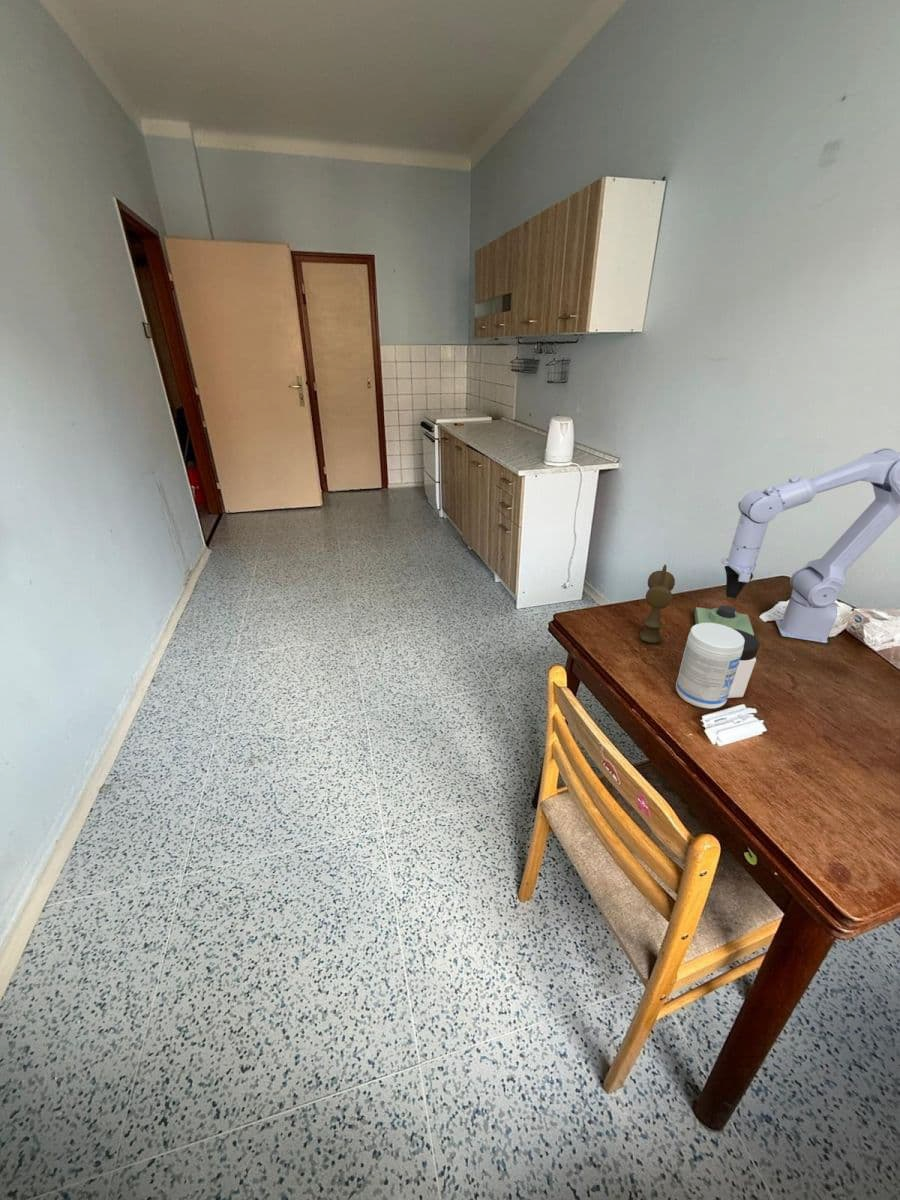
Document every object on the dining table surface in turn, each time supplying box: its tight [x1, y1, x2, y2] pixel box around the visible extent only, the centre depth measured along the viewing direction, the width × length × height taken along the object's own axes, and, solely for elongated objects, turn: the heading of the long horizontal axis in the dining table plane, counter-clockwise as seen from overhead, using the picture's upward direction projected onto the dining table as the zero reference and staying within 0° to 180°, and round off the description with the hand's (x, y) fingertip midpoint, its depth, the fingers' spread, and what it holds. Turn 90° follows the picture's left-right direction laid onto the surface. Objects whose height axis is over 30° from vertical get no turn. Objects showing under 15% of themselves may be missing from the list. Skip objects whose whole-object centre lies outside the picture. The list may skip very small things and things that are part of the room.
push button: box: [717, 605, 736, 618], centre depth 117 cm, size 4×4×2 cm
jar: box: [727, 629, 761, 699], centre depth 96 cm, size 9×8×12 cm
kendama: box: [638, 564, 676, 644], centre depth 111 cm, size 6×10×20 cm, turn 155°
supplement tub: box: [675, 623, 745, 709], centre depth 93 cm, size 10×10×15 cm
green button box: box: [694, 606, 755, 637], centre depth 119 cm, size 12×10×4 cm
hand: (730, 596), depth 115 cm, fingers closed
